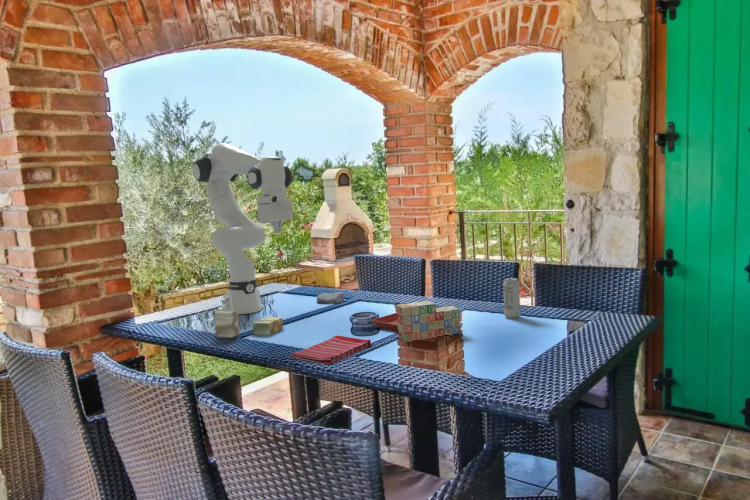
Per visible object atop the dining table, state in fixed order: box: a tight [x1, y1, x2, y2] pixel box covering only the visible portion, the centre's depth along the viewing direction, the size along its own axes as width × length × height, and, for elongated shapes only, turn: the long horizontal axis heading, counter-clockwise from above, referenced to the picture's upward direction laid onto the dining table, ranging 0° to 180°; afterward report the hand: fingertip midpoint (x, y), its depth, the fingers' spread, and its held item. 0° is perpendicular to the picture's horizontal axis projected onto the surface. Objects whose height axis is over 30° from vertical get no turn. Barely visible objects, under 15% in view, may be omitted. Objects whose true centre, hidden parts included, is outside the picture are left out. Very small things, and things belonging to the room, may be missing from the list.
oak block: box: [252, 316, 284, 336], centre depth 234 cm, size 4×7×10 cm
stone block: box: [316, 291, 345, 304], centre depth 285 cm, size 12×5×10 cm
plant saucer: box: [371, 312, 398, 332], centre depth 231 cm, size 18×18×3 cm
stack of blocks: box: [396, 300, 461, 343], centre depth 214 cm, size 21×6×12 cm, turn 107°
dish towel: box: [290, 335, 372, 365], centre depth 202 cm, size 17×24×3 cm
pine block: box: [214, 310, 240, 340], centre depth 228 cm, size 4×7×10 cm, turn 67°
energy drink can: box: [502, 277, 521, 320], centre depth 234 cm, size 6×6×15 cm
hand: (277, 233), depth 238 cm, fingers closed
